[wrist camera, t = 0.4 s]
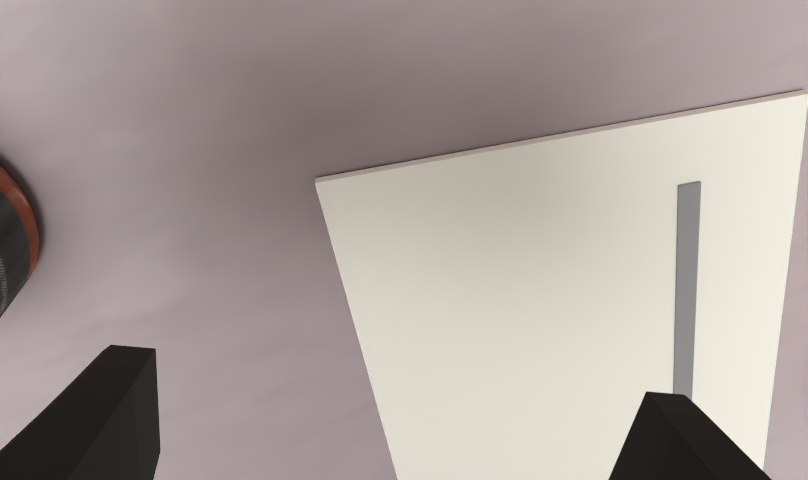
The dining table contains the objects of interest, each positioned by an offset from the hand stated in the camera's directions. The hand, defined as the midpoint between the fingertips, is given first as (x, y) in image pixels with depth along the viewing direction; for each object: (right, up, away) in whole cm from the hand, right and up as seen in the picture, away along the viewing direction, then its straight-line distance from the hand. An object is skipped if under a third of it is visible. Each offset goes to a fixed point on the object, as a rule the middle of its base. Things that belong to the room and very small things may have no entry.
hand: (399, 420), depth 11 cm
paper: (+5, -1, +13) cm, 14 cm away
